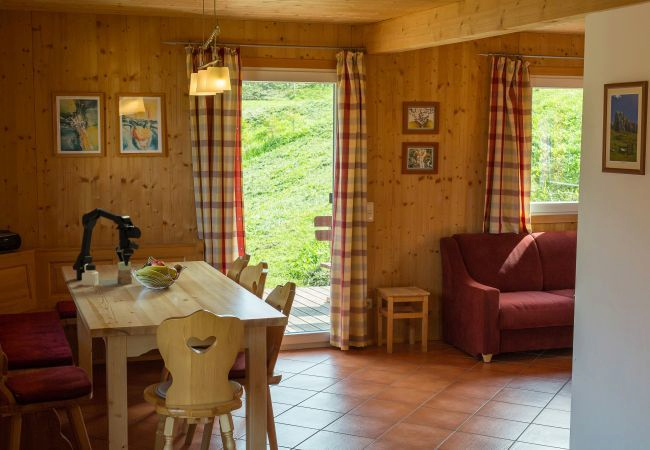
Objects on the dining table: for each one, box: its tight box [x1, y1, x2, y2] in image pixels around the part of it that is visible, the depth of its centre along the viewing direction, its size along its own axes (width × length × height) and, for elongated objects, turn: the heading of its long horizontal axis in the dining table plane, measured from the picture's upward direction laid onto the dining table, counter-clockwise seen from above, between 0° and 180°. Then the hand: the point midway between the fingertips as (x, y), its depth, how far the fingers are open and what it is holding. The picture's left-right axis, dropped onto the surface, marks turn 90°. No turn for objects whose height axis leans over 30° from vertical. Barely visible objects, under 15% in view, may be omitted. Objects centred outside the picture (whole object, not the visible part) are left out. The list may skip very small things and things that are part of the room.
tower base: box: [116, 275, 133, 286], centre depth 483 cm, size 6×6×4 cm
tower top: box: [117, 268, 132, 277], centre depth 482 cm, size 6×6×4 cm
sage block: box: [117, 261, 132, 270], centre depth 482 cm, size 6×6×4 cm
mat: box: [99, 278, 135, 287], centre depth 486 cm, size 23×17×1 cm
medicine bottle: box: [81, 263, 100, 286], centre depth 478 cm, size 7×7×12 cm
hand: (124, 265), depth 482 cm, fingers open, 9 cm apart
